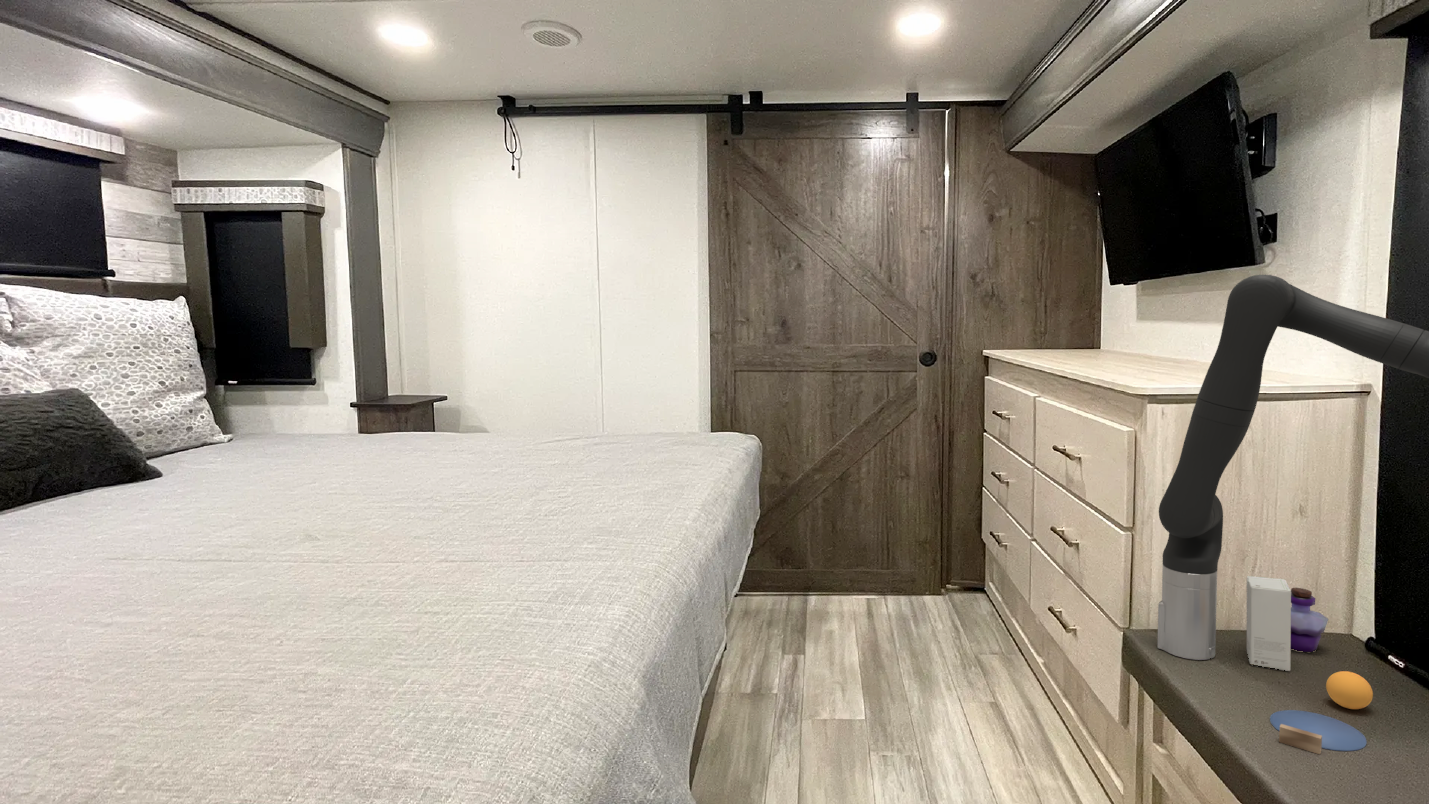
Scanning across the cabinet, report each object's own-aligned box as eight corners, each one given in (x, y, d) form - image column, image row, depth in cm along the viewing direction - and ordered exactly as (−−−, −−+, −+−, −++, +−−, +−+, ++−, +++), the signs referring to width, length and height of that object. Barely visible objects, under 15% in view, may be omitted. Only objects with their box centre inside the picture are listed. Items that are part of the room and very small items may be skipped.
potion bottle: (1261, 640, 152) (1263, 583, 151) (1299, 637, 153) (1301, 580, 152) (1298, 658, 143) (1300, 598, 142) (1339, 654, 144) (1341, 595, 143)
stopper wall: (1279, 742, 115) (1279, 726, 115) (1280, 739, 116) (1281, 723, 116) (1320, 754, 112) (1320, 738, 111) (1321, 751, 112) (1322, 735, 112)
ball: (1322, 707, 125) (1324, 673, 125) (1328, 694, 129) (1329, 661, 129) (1369, 720, 121) (1371, 684, 120) (1374, 706, 125) (1375, 672, 124)
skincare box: (1290, 672, 138) (1293, 591, 136) (1247, 665, 141) (1249, 586, 140) (1285, 655, 145) (1287, 578, 143) (1243, 649, 148) (1245, 573, 147)
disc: (1262, 731, 119) (1262, 729, 119) (1278, 703, 127) (1278, 702, 127) (1361, 760, 110) (1361, 759, 110) (1371, 729, 118) (1371, 728, 118)
